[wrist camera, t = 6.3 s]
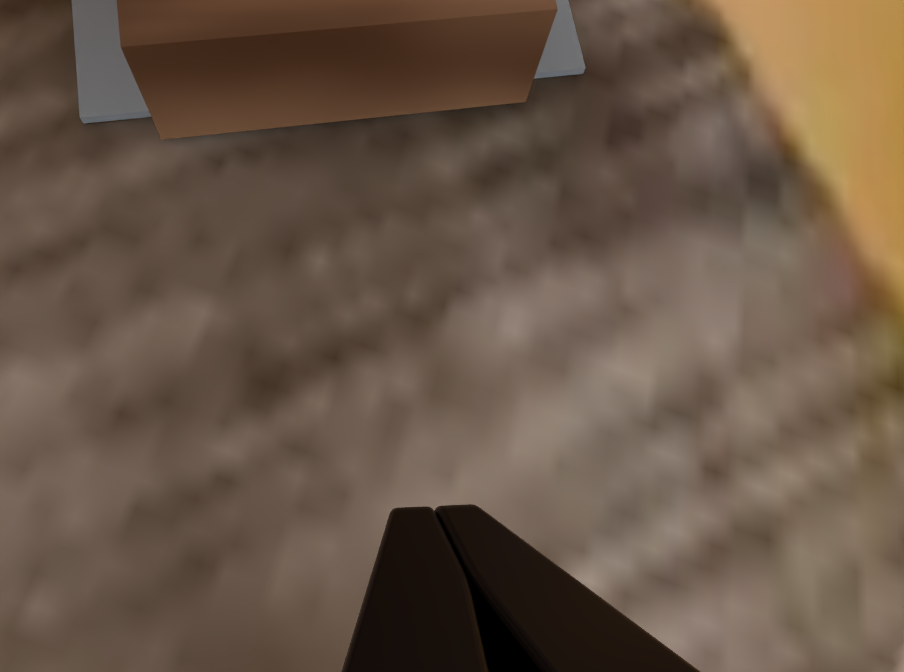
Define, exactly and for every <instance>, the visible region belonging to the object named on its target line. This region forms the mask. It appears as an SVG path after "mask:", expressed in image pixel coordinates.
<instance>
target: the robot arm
mask: <svg viewBox="0 0 904 672" xmlns="http://www.w3.org/2000/svg"><path fill="white" fill-rule="evenodd" d="M342 672H700V671H699V670H697V669H696V668H695V667H693V666H692V665H691V664H689V663H688V662H687V661H685V660H684V659H682V658H681V657H680V656H678V655H677V654H676V653H674V652H673V651H672V650H670V649H669V648H668V647H666V646H665V645H664V644H662V643H661V642H660V641H658V640H657V639H656V638H654V637H653V636H652V635H650V634H649V633H648V632H646V631H645V630H644V629H642V628H641V627H639V626H638V625H637V624H635V623H634V622H633V621H631V620H630V619H629V618H627V617H626V616H625V615H623V614H622V613H621V612H619V611H618V610H617V609H615V608H614V607H613V606H611V605H610V604H609V603H607V602H606V601H605V600H603V599H602V598H601V597H599V596H598V595H596V594H595V593H594V592H592V591H591V590H590V589H588V588H587V587H586V586H584V585H583V584H582V583H580V582H579V581H578V580H576V579H575V578H574V577H572V576H571V575H570V574H568V573H567V572H566V571H564V570H563V569H562V568H560V567H559V566H557V565H556V564H555V563H553V562H552V561H551V560H549V559H548V558H547V557H545V556H544V555H543V554H541V553H540V552H539V551H537V550H536V549H535V548H533V547H532V546H531V545H529V544H528V543H527V542H525V541H524V540H523V539H521V538H520V537H519V536H517V535H516V534H514V533H513V532H512V531H510V530H509V529H508V528H506V527H505V526H504V525H502V524H501V523H500V522H498V521H497V520H496V519H494V518H493V517H492V516H490V515H489V514H488V513H486V512H485V511H484V510H482V509H481V508H479V507H478V506H476V505H471V504H469V505H449V506H439V507H437V508H436V509H435V511H434V510H433V509H432V508H430V507H405V508H394V509H393V510H392V511H391V512H390V515H389V518H388V521H387V524H386V528H385V531H384V534H383V538H382V541H381V544H380V547H379V551H378V554H377V557H376V561H375V564H374V567H373V571H372V574H371V577H370V580H369V584H368V587H367V590H366V594H365V597H364V600H363V603H362V607H361V610H360V613H359V617H358V620H357V623H356V626H355V630H354V633H353V636H352V639H351V643H350V646H349V649H348V653H347V656H346V659H345V662H344V666H343V669H342Z"/></svg>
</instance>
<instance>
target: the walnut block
mask: <svg viewBox="0 0 904 672" xmlns="http://www.w3.org/2000/svg"><path fill="white" fill-rule="evenodd" d="M557 10H558V8H557V4H556V0H117V11H118V22H119V34H120V45H121V49H122V51H123V54H124V56H125V58H126V60H127V63H128V65H129V67H130V69H131V72H132V74H133V76H134V79H135V81H136V83H137V85H138V88H139V90H140V92H141V94H142V97H143V99H144V101H145V103H146V106H147V108H148V110H149V113H150V115H151V117H152V119H153V122H154V124H155V126H156V128H157V131H158V133H159V135H160V137H161V140H164V139H173V138H183V137H193V136H202V135H212V134H221V133H231V132H241V131H250V130H260V129H270V128H279V127H289V126H299V125H308V124H318V123H328V122H337V121H347V120H356V119H366V118H376V117H385V116H395V115H405V114H414V113H424V112H434V111H443V110H453V109H463V108H472V107H482V106H492V105H501V104H511V103H520V102H526V100H527V97H528V94H529V91H530V88H531V86H532V83H533V80H534V77H535V74H536V71H537V68H538V65H539V62H540V59H541V56H542V54H543V51H544V48H545V45H546V42H547V39H548V36H549V33H550V30H551V27H552V24H553V22H554V19H555V16H556V13H557Z"/></svg>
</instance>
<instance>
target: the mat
mask: <svg viewBox="0 0 904 672" xmlns="http://www.w3.org/2000/svg"><path fill="white" fill-rule="evenodd" d="M556 4H557V8H558V10H557V13H556V16H555V19H554V22H553V24H552V27H551V30H550V33H549V36H548V39H547V42H546V45H545V48H544V51H543V54H542V56H541V59H540V62H539V65H538V68H537V71H536V74H535V77H534V79H536V78H546V77H556V76H566V75H576V74H583V73H584V70H585V68H586V67H585V63H584V60H583V56H582V52H581V48H580V44H579V40H578V36H577V32H576V28H575V24H574V20H573V16H572V13H571V9H570V5H569V1H568V0H556ZM72 15H73V29H74V43H75V58H76V72H77V86H78V100H79V115H80V119H81V121H82V122H83V124H84V123H94V122H104V121H114V120H124V119H134V118H144V117H151V115H150V113H149V110H148V108H147V106H146V103H145V101H144V99H143V97H142V94H141V92H140V90H139V88H138V85H137V83H136V81H135V79H134V76H133V74H132V72H131V69H130V67H129V65H128V63H127V60H126V58H125V56H124V54H123V51H122V49H121V45H120V34H119V22H118V11H117V0H72Z"/></svg>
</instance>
